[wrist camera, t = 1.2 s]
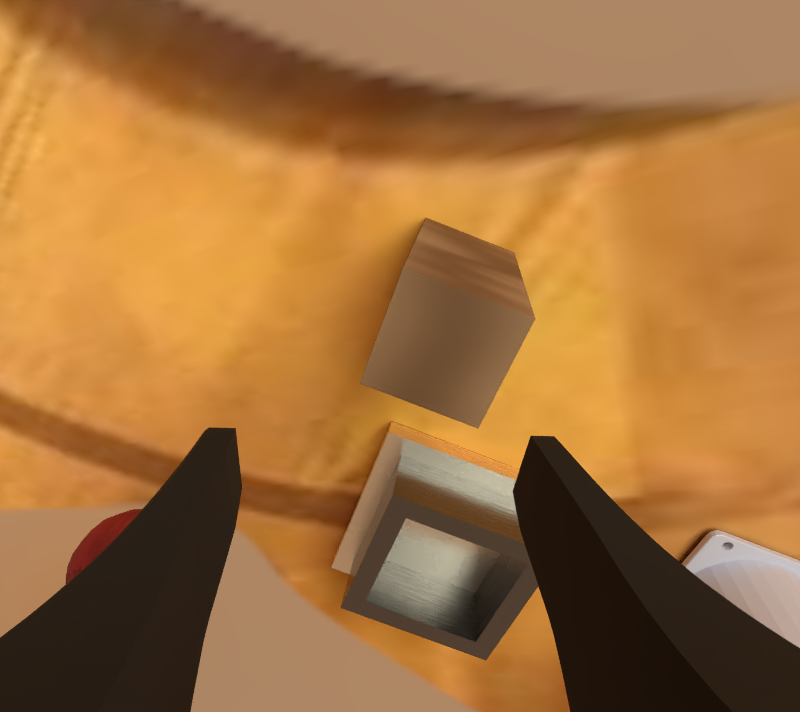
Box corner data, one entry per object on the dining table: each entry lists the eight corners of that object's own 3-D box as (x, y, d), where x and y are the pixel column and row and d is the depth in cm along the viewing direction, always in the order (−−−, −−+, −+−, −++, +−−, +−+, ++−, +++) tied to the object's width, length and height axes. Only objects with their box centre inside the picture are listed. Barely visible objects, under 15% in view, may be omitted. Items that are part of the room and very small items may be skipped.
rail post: (514, 252, 22) (535, 319, 15) (476, 333, 24) (478, 428, 16) (425, 217, 22) (403, 267, 14) (394, 301, 23) (359, 383, 16)
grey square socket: (574, 490, 26) (590, 549, 23) (492, 612, 31) (495, 677, 27) (391, 421, 26) (378, 470, 22) (335, 554, 30) (317, 613, 27)
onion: (139, 554, 32) (45, 679, 25) (108, 480, 30) (-5, 594, 23) (226, 555, 32) (154, 685, 24) (201, 479, 29) (112, 597, 22)
